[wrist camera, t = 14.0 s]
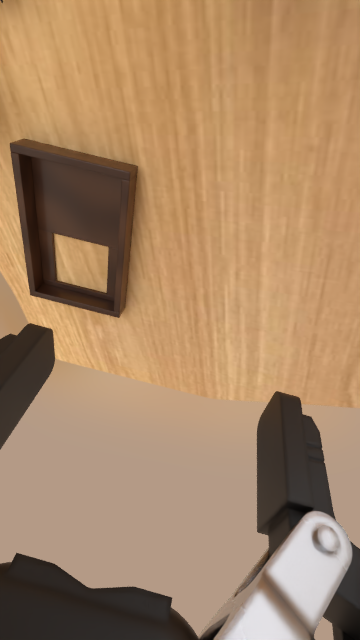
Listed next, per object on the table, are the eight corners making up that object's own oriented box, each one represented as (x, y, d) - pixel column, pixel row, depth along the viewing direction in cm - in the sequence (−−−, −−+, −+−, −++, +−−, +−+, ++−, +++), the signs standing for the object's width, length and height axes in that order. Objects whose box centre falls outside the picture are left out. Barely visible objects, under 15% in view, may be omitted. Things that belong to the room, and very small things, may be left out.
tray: (23, 138, 33) (9, 142, 31) (137, 165, 33) (130, 172, 31) (39, 285, 45) (30, 295, 43) (125, 307, 44) (119, 318, 42)
